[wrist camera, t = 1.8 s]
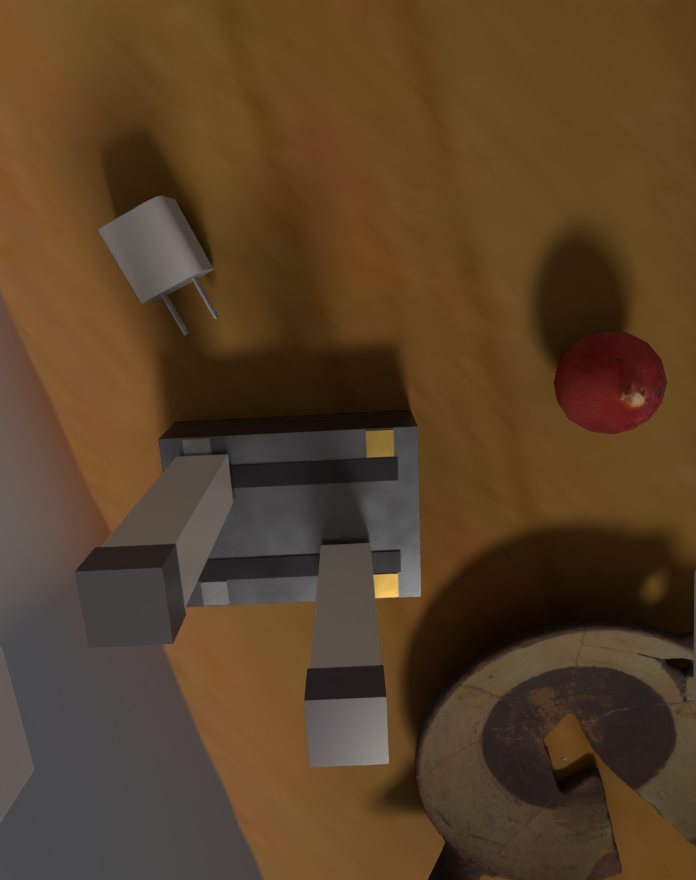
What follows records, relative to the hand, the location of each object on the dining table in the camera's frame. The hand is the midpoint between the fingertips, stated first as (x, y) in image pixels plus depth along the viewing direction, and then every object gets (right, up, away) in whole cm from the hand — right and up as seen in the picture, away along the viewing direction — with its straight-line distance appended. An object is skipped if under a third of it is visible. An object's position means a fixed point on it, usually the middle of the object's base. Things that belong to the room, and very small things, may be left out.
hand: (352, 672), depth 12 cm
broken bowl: (+13, -18, +36) cm, 42 cm away
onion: (+15, +9, +28) cm, 33 cm away
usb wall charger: (-10, +15, +26) cm, 32 cm away
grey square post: (-8, +2, +25) cm, 26 cm away
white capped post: (0, -3, +27) cm, 27 cm away
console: (-3, +1, +30) cm, 30 cm away
